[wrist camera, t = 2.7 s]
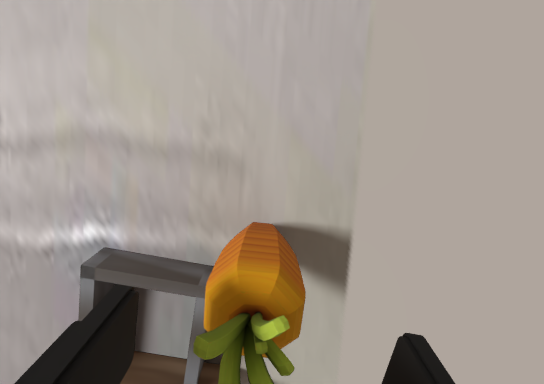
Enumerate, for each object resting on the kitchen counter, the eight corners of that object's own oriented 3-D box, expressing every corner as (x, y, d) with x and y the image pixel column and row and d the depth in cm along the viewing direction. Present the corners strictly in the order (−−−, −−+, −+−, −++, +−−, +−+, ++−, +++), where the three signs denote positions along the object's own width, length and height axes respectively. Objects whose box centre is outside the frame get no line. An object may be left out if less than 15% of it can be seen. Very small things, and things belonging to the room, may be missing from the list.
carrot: (222, 209, 23) (136, 360, 9) (283, 191, 23) (301, 318, 8) (241, 264, 24) (195, 482, 10) (300, 248, 24) (342, 449, 9)
